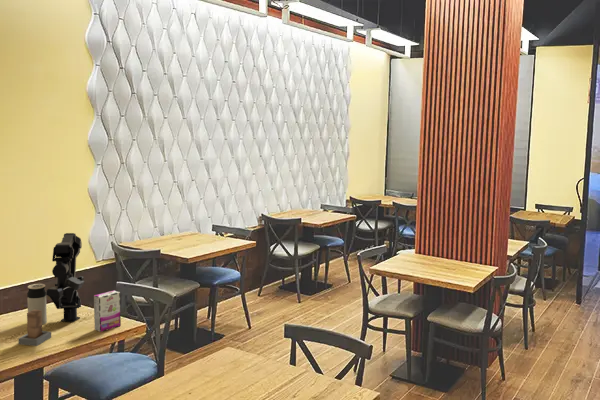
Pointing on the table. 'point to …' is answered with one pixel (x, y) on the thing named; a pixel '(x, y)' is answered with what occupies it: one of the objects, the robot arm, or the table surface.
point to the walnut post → (34, 323)
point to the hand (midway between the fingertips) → (64, 305)
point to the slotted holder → (34, 342)
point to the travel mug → (37, 299)
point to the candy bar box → (107, 311)
